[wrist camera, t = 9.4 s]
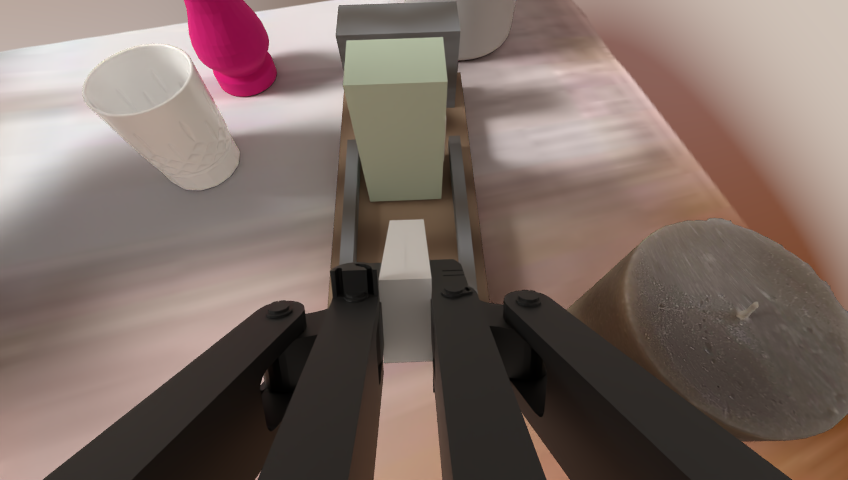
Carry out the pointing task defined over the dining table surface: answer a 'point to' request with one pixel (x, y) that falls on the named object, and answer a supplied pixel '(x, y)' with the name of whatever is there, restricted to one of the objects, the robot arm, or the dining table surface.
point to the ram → (398, 114)
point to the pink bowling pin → (231, 45)
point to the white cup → (164, 113)
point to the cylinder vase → (481, 25)
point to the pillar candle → (729, 328)
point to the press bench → (457, 209)
